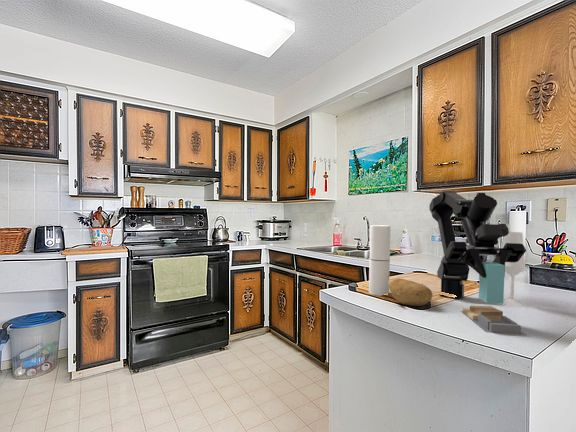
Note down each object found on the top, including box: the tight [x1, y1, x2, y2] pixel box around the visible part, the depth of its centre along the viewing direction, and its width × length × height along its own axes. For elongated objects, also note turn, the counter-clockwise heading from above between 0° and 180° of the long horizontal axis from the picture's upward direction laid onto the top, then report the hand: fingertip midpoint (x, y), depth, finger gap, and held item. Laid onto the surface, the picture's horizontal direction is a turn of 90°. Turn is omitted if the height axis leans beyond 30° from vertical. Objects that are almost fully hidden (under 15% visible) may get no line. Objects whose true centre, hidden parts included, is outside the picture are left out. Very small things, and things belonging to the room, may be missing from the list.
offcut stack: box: [461, 305, 504, 322], centre depth 85 cm, size 7×8×2 cm
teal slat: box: [478, 261, 505, 305], centre depth 81 cm, size 4×4×10 cm
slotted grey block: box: [460, 310, 527, 336], centre depth 81 cm, size 16×9×3 cm, turn 171°
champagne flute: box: [501, 231, 526, 308], centre depth 100 cm, size 7×7×24 cm
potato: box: [389, 278, 434, 307], centre depth 98 cm, size 10×14×8 cm
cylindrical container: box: [368, 224, 391, 297], centre depth 111 cm, size 7×7×25 cm
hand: (494, 277), depth 80 cm, fingers closed on teal slat, 4 cm apart
